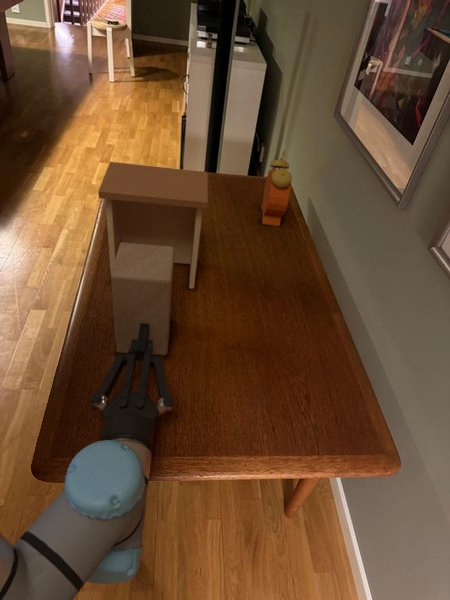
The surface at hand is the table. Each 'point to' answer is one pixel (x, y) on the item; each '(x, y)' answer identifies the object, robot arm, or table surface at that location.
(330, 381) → the table surface
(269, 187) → the alarm clock
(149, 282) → the wooden block
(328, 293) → the table surface
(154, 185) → the desk
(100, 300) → the table surface
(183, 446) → the table surface
